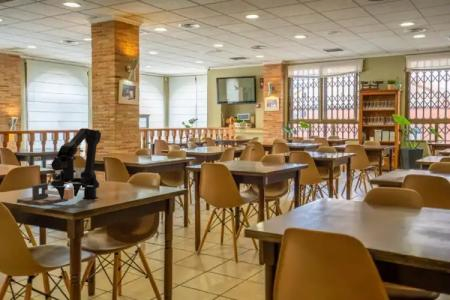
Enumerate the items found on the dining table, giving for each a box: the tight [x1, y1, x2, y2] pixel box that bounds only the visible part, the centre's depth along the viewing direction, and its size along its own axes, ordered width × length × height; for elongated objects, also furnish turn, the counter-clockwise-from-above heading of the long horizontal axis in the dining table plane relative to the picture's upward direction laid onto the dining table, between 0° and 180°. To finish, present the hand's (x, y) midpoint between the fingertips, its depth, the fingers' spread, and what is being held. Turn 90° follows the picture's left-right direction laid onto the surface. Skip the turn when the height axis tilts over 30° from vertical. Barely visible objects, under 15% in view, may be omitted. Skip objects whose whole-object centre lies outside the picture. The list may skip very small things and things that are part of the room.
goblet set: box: [54, 166, 85, 188], centre depth 324 cm, size 28×6×13 cm, turn 69°
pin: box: [45, 188, 74, 200], centre depth 260 cm, size 18×4×5 cm, turn 61°
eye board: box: [16, 183, 69, 206], centre depth 266 cm, size 20×18×9 cm
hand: (68, 197), depth 257 cm, fingers open, 9 cm apart
